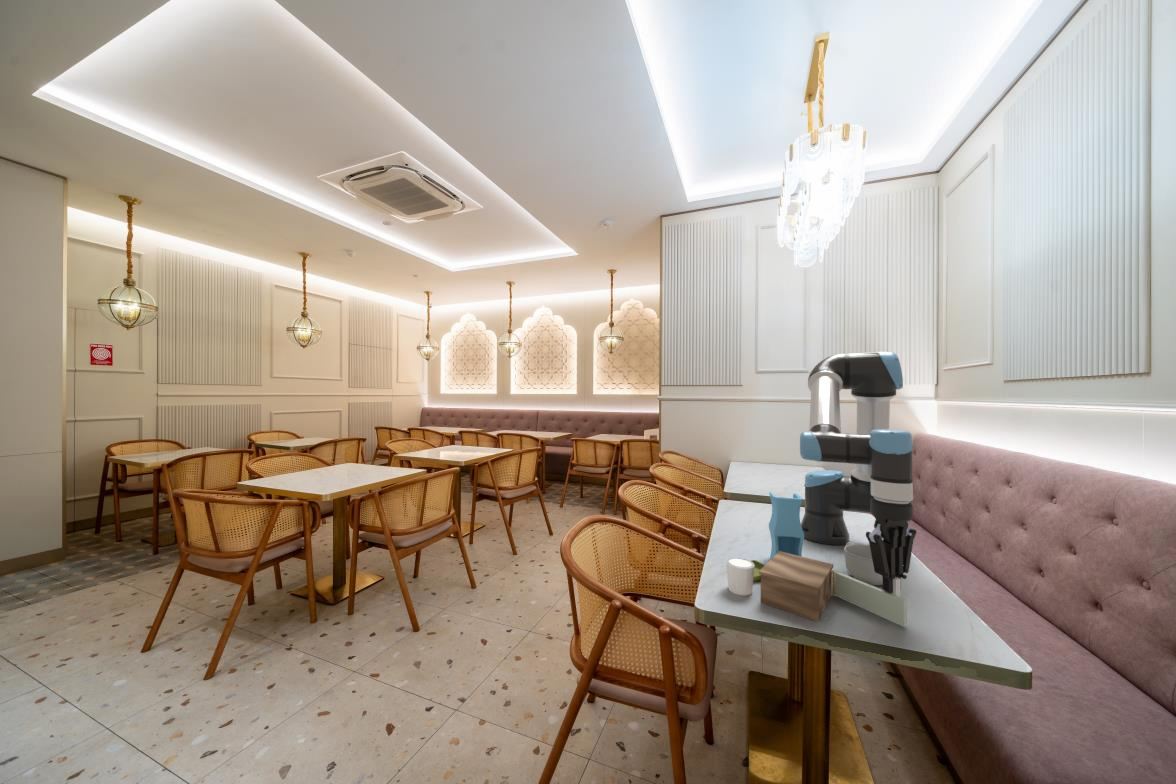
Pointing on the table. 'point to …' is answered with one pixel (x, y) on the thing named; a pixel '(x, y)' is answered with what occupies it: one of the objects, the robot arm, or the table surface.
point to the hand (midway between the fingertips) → (891, 605)
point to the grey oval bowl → (861, 563)
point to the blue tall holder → (786, 525)
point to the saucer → (757, 570)
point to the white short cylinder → (740, 575)
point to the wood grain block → (796, 584)
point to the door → (870, 598)
